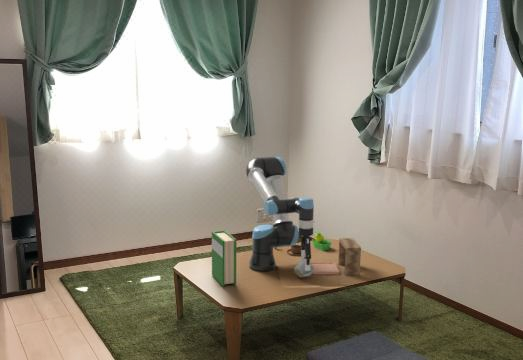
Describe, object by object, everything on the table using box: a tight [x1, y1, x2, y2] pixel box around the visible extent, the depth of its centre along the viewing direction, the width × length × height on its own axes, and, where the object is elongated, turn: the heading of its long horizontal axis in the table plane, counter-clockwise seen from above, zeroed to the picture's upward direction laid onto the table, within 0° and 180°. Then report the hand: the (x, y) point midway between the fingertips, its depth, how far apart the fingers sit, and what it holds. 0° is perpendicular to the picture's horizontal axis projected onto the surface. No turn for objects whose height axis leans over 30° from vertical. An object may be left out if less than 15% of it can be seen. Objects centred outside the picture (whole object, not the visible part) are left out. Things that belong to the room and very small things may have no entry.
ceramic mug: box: [293, 259, 313, 279], centre depth 274 cm, size 11×8×8 cm
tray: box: [310, 262, 341, 275], centre depth 288 cm, size 18×15×3 cm
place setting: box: [274, 244, 301, 257], centre depth 319 cm, size 18×20×6 cm
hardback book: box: [211, 230, 237, 287], centre depth 270 cm, size 18×7×24 cm, turn 23°
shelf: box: [337, 237, 362, 276], centre depth 288 cm, size 8×18×16 cm, turn 4°
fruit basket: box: [311, 232, 332, 252], centre depth 325 cm, size 11×9×11 cm
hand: (305, 266), depth 273 cm, fingers open, 13 cm apart
